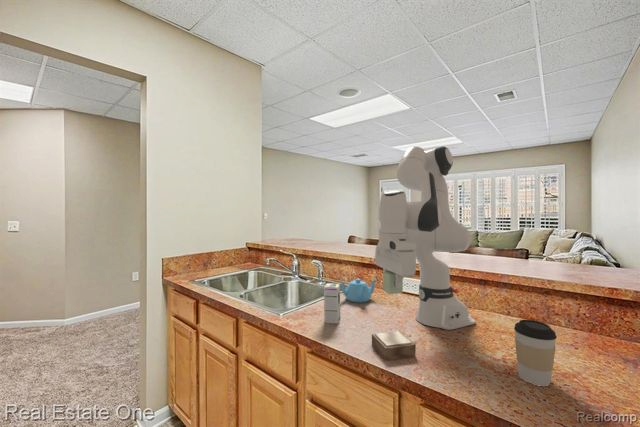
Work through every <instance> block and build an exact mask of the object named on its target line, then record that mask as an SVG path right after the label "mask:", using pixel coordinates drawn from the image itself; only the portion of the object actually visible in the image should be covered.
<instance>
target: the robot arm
mask: <svg viewBox="0 0 640 427" xmlns="http://www.w3.org/2000/svg"><path fill="white" fill-rule="evenodd" d="M399 160H400V161H399V163H398V166H397V169H396V179H397V181H398V182H399V184H400V185H401V186H403V187H405V188H406V189H408V190H413V191H419V192H421V193H420V201H407V196H406V192H405V191H402V190H387V191H384V192H382V193H381V195H380V199H379V206H378V208H379V209H378V220H379V229H378V242H377V245H375V246H376V247H375V253H374V255H375V256H374V263H375V265H376V266H377V267H380V268H382V273H383V272H388V271H391V272H393V273H395V277H396V280H395V281H394V287H396V288H401V282H402V280H404V278H412V277H414V276H415V275H416V272H417V271H416V270H417V263H418V267H419V284H418V296H419V297H418V298H419V300H418V301H419V302H418V308H417V312H416V316H415V319H416V321H417V322H419V323H420V324H422V325H425V326H429V327H434V328H439V329H444V330H446V331H447V330H448V331H452V330H455V329H459V328H460V329H461V328H464V327H467V326H473V325H475V324H476V320H475V319H474V318H473V317H471V316H470V314H469V309H468V306H466V304H465V303H463V302H462V301H461V300H460V299H459V298H457V297H455V295H454V294H456V295H457V294H459V288H457V287H452V286H450V284H451V283H450V282H451V279H450V278H451V276H450V274H451V273H450V272H451V271H450V270H451V269H450V267H449V265H448V264H446V263H445V262H444V261H442V260H440V259H439V258H436V257H435V256H434V255H433V253H434V252H441V253H458V252H465V251H466V250H468V249H469V247H470V245H471V242H472V236H471V233H470V230H469V229H468V228H467V227H466V226H464V225H462V224H461V223H460V222H458V221H457V220H456V219H455V218H454V217H453V215H452V213H451V209H450V203H449V191H448V190H449V189H448V184H447V181H446V179H445V177H446V176H447V175H449V171H450V170H451V169H452V167H453V163H454V161H453V160H454V159H453V155H452V152H451V151H450V149H449V148H448V147H446V146H438V147H434V148H431V149H428V150H425V149H424V148H422V147H420V146H411V147H409V148H407V149H406V150H405V151H404V153H403V155H402V156H401V158H400V159H399Z"/></svg>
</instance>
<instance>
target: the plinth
mask: <svg viewBox="0 0 640 427" xmlns="http://www.w3.org/2000/svg"><path fill="white" fill-rule="evenodd" d="M371 346H372V347H373V348H374V349H375V351H377V353H378V354H379V355H380V356H381V357H382V358H383V359H384V361H390V360H398V359H399V360H400V359H405V358H411V357H412V358H413V357H416V355H417V354H416V346H417V345H416V343H414V342H413V341H412V340H411V339H409V338H408V337H407V336H405V334H403V333H402V332H401V331H400V330H397V331H387V332H378V333H372V334H371Z"/></svg>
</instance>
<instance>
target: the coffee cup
mask: <svg viewBox="0 0 640 427" xmlns="http://www.w3.org/2000/svg"><path fill="white" fill-rule="evenodd" d="M513 329H514V333H515V334H514V336H515V337H514V340H515V342H514V343H515V353H516V354H515V355H516V361H517V372H518V377H519V379H521V380H522V379H523V380H524V381H523V380H522V381H523V382H525V381H527V382H529V383H532V384H535V385H540V386H547V385H549V384H550V383H551V384H552V380H551V379H552V373H553V370H554V364H555V353H556V345H555V344H556V339H558V338H557V335H556V332H555V330H554V329H552V327H551V325H549V324H547V323H545V322H543V321H538V320H535V319H534V320H533V319H520V320H519V321H517V322H516V323H514V328H513ZM527 382H526V383H527ZM529 383H528V384H529ZM532 384H531V385H532ZM551 384H550V385H551ZM535 385H534V386H535Z"/></svg>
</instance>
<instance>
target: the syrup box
mask: <svg viewBox="0 0 640 427" xmlns="http://www.w3.org/2000/svg"><path fill="white" fill-rule="evenodd" d="M323 307H324V309H323V310H324V313H323V314H324V317H323V320H324V321H323V322H324V323H326V324H337V325H338V324H339V322H340V320H341V283H335V282H334V283H332V282H331V283H326V284H325V285H324V287H323Z"/></svg>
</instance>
